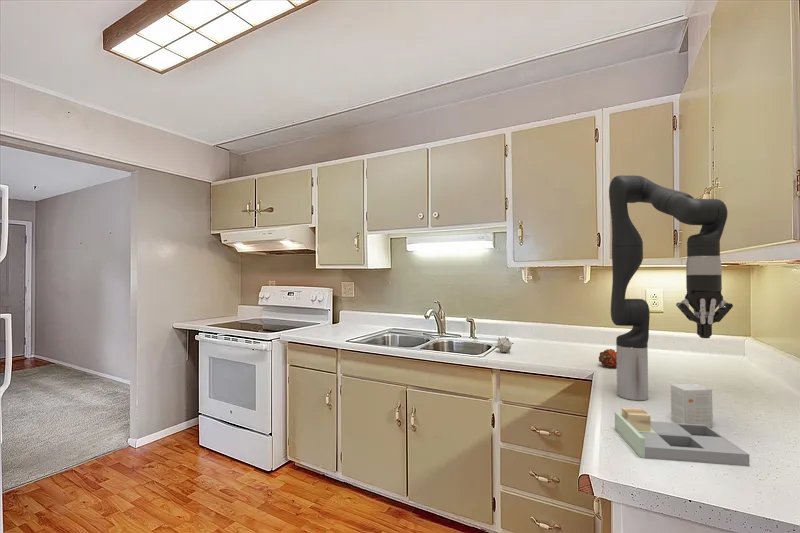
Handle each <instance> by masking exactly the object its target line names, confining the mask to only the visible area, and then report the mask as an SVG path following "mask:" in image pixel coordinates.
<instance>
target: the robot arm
mask: <svg viewBox="0 0 800 533" xmlns="http://www.w3.org/2000/svg"><path fill="white" fill-rule="evenodd" d="M608 199H609V207H610V214H611V215H610V216H611V218H610V219H611V262H612V265H611V266H612V267H611V269H612V285H611V286H612V288H611V298H610V318H611V321H612V323H613V324H614V325H615V326H620V327H632V328H631V329H630V330H629V331H628V332H625V333H623V334H619V335H618V336H617V337H616V341H615V342H616V343H615V344H616V346H615V347H616V349H615V352H617V367H616V395H617V396H618V397H620V398H623V399H627V400H631V401H646V400H648V399H649V365H648V364H649V360H648V359H649V356H648V354H649V352H648V351H649V350H648V349H649V348H648V343H649V338H650V335H649V334H650V314H651V313H650V307H649V304H648V302H647V301H646V300H645V299H643V298H626V292H627V288H628V285H629V284H630V282H631V279H632V278H633V276H634V275H635V274H636V273H637V271H638V270H639V268H640V267H641V265H642V262H643V259H644V246H643V245H644V242H643V238H642V237H641V234H640V233H639V231H638V229H637V228H636V227H635V225H634V223H633V221H632V220H631V217H630V215H629V211H628V210H629V208H628V204H635V203H646V204H651V206H652V207H653V208H654V209H655V210H656V211H659V212H661V213H663V214H665V215H669V216H672V217H673V218H674V219H676V220H677V221H679V222H680V223H682V224H685V225H689V226H701V227H700V231H699V233H696V234H692V235H690V236H689V237H688V238H687V240H686V256H687V257H686V264H685V275H686V276H685V280H686V285H685V286H686V294H685V296H684V299H683V300H682V301H680V302H679V301H678V302H676V304H675V306H676V307H677V308H678V309H679V311H680V312H682V314H683V315H684V316H685V317H686V319H688V321H691V322H693V323H694V322H695V323H696V334H697V336H699V338H702V339H710V338H711V337H712V335H713V333H712V332H713V327H712V326H713V324H714V323H720V322H721V321H722V320H723V318H724V317H725V316H726V315H727V314H728V313H729V312H730V310H731V309H733V307H734V304H733V303H729V302H728V301H726V300H725V299H724V296H723V294H722V289H723V287H722V285H723V284H722V282H723V280H722V276H723V275H722V271H723V269H722V261H721V238H722V235H723V233H724V229H725V225H726V224H727V220H728V214H729V213H728V207H727V205H726V204H725V202H724V201H723V200H721V199H717V198H694V197H693V196H692V195H690V194H689V193H686V192H683V191H679V190H676V189H672V188H668V187H664V186H662V185H659V184H657V183H655V182H653V181H651V180H650V179H648V178H647V177H644V176H642V175H641V176H640V175H616V176H614V177H613V178H612V179H611V180H610V182H609V188H608ZM690 307H691V309H692V310H693V311H691V309H690Z"/></svg>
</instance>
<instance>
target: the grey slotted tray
mask: <svg viewBox="0 0 800 533" xmlns="http://www.w3.org/2000/svg"><path fill="white" fill-rule="evenodd" d="M614 429H615V430H616V431H617V433H620V434H619V435H620V436H621V437H622V438H623V440H624V441H625V442H626V443H627V444H628V445H629V447H630V448H631V449H632V450H633V451H634V453H636V454H637V456H638V457H639V458H642V459H656V460H666V461H667V460H668V461H669V460H670V461H679V462H680V461H681V462H682V461H683V462H694V463H695V462H697V463H707V464H708V463H709V464H721V465H722V464H723V465H732V466H733V465H734V466H746V467H750V453H748V452H746V451H745V450H744V449H742V448H741V447H739V446H738V445H736V444H735V443H734V442H731V441H730V440H729V439H727V438H726V437H725V436H724V435H721V434H720V433H719V432H717V431H715V430H714V429H712V427H708V426H707V425H704V424H687V423H675V422H668V421H666V422H665V421H652V420H651V432H650V431H637V430H636V429H635V428H634V427H633V426H632V425H631V424H630V423H629V422H628V421H627V420H626V419H625V418H624V417H623V416H622V413H620V412H619V411H614Z"/></svg>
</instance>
